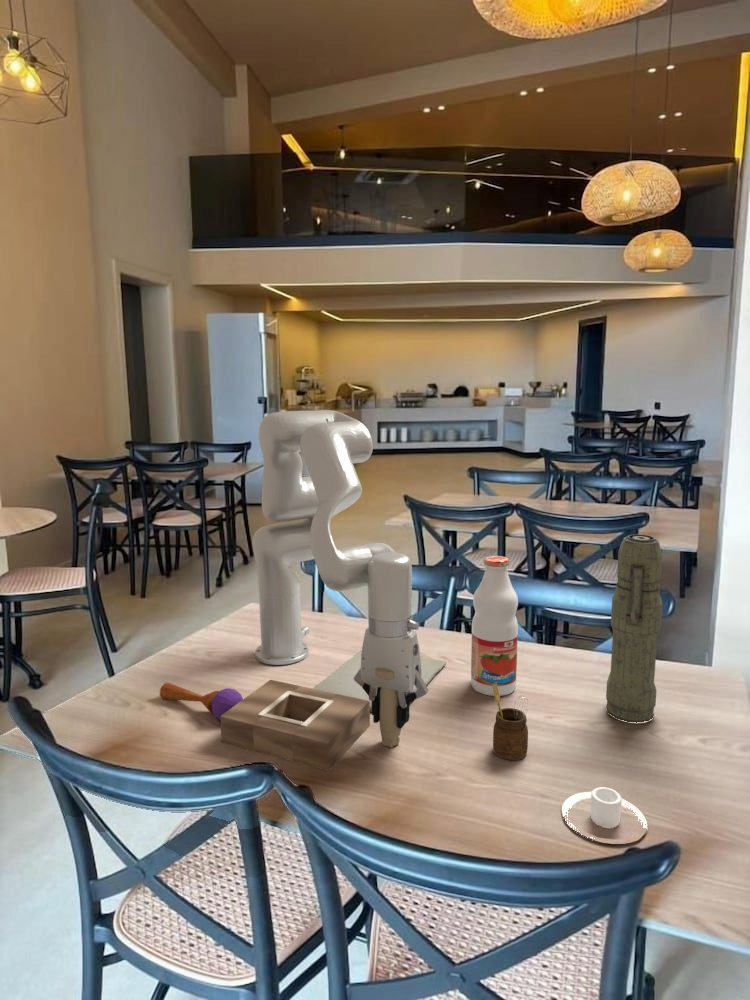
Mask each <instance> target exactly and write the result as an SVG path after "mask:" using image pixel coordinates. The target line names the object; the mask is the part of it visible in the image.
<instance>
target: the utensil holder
mask: <svg viewBox="0 0 750 1000" xmlns="http://www.w3.org/2000/svg"><path fill="white" fill-rule="evenodd" d="M495 685H496V686H495ZM492 686H493V691H494V696H493V697H494V701H495V703H497V707H498V711H496V715H495V722H494V724H493V730H492V731H493V732H492V734H493V735H492V747H493V748H492V749H493V751H494V753H495V755H497V756H498V757H500V758H502V759H504V760H506V761H518V760H522V759H524V757H526V756H527V753H528V745H529V743H528V742H529V728H528V725H527V721H528V720H527V716H526V713H525V710H528V709H529V707H526V709H525V706H529V703H526V704H527V705H524V707H523V705H522V706H521V702H522V699H523V702H522V704H525V699H526V701H529V700H528V698H526V696H525V695H519V696H517V698H518V699H517V698H516V699H515V700H514V705H516V704H517V705H516V707H518V706H519V707H520V706H521V709H520V708H515V706H513V707H505V708H502V707H501V704H500V703H501V702H500V701H501V696H500V695H499V691H498V687H497V683H496V682H495V683H494V685H492ZM520 698H521V700H520ZM517 702H520V703H517ZM518 704H519V705H518ZM522 709H525V710H523V711H522Z"/></svg>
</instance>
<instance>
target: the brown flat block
mask: <svg viewBox="0 0 750 1000" xmlns="http://www.w3.org/2000/svg"><path fill="white" fill-rule="evenodd" d="M370 714H371V711H370V701H367V700H363V699H358V698H354V697H349V696H344V695H340V694H335V693H330V692H326V691H321V690H316V689H313V688H311V687H306V686H303V685H302V686H301V685H297V684H293V683H288V682H283V681H279V680H276V679H275V680H274V679H270V680H268V681H267V682H265V683H264V684H262V685H261V686H260V687H258V688H257V689H255V690H254V691H253V692H252V693H250V694H249V695H247V696H246V697H244V698H243V700H242V701H240V702H239V703H238V704H236V705H235V706H234V707H232V708H231V709H230V710H228V711H227V712H225V713H224V714H223V715H221V716H220V719H221V720H220V719H219V720H220V732H221V733H220V734H221V736H220V737H221V743H225V744H228V745H232V746H236V747H239V748H243V749H247V750H251V751H254V752H258V753H261V754H265V755H269V756H272V757H276V758H280V759H284V760H288V761H291V762H295V763H299V764H302V765H306V766H310V767H313V768H316V767H317V769H320V768H321V770H325V771H328V772H329V771H330V770H331V769H332V768H333V767H334V766H335V765H336V764H337V762H338V761H340V759H341V758H342V757H343V756H344V755H345V754H346V752H348V750H349V749H350V748H351V747H352V746H353V745H354V744H355V743H356V742H357V740H358V739H359V738H361V736H362V735H363V734H364V733H365V732H366V731H367V730H368V728H369V727H370V726H371V724H370V723H371V720H370V719H371V717H370V716H371V715H370ZM301 721H302V722H301Z"/></svg>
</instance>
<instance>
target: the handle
mask: <svg viewBox="0 0 750 1000" xmlns="http://www.w3.org/2000/svg"><path fill="white" fill-rule="evenodd" d="M375 674H376V676H377V677H379V678H381V679H384V680H392V679H394V672H392V671H386V670H381V669H376V668H375ZM399 705H400V702H399V697H398V691H396V690H391V689H387V688H382V687H381V694H380V712H379V713H380V714H379V716H380V721H379V729H380V736H381V741H382V745H383V746H385V747H389V748H394V747H395V746H398V745H399V744H400V740H401V739H400V735H401V730H402V728H401V729H400V728H398V727H397V707H398V706H399Z"/></svg>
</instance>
